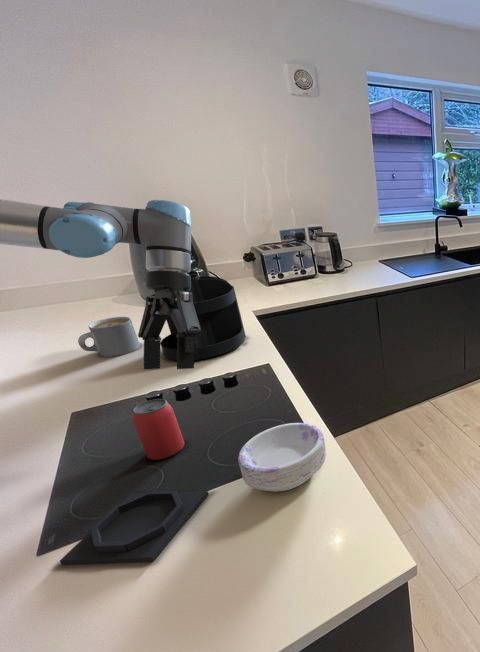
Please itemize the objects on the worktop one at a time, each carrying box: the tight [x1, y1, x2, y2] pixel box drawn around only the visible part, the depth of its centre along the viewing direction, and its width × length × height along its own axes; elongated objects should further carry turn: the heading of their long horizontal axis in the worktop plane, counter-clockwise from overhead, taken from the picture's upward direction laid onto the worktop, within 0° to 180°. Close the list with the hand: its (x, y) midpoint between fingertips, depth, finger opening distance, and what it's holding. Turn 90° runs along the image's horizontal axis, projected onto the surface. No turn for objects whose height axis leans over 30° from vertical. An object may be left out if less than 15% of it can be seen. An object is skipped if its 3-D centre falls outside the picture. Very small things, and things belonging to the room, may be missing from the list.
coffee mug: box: [77, 316, 141, 358], centre depth 129 cm, size 13×10×10 cm
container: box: [151, 273, 247, 361], centre depth 131 cm, size 22×23×25 cm
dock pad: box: [59, 490, 209, 566], centre depth 70 cm, size 14×14×2 cm
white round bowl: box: [237, 422, 327, 493], centre depth 82 cm, size 15×15×8 cm
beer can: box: [132, 398, 185, 461], centre depth 86 cm, size 7×7×12 cm
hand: (168, 369), depth 87 cm, fingers open, 13 cm apart
